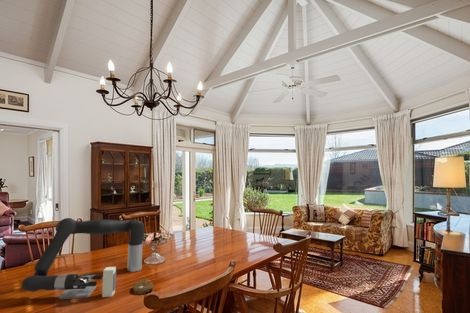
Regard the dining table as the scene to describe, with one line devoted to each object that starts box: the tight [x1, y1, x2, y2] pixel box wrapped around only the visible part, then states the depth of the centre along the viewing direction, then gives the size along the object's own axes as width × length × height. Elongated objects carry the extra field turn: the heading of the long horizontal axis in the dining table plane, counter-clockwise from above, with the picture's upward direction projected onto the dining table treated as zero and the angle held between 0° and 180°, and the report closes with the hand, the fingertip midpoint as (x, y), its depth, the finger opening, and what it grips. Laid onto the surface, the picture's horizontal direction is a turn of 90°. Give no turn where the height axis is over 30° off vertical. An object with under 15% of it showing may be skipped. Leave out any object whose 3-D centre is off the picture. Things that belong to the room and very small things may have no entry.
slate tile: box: [58, 285, 98, 300], centre depth 147 cm, size 14×14×1 cm
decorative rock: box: [132, 278, 155, 296], centre depth 152 cm, size 11×4×15 cm
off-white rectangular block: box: [101, 266, 117, 298], centre depth 145 cm, size 5×5×14 cm
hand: (99, 280), depth 144 cm, fingers open, 8 cm apart
